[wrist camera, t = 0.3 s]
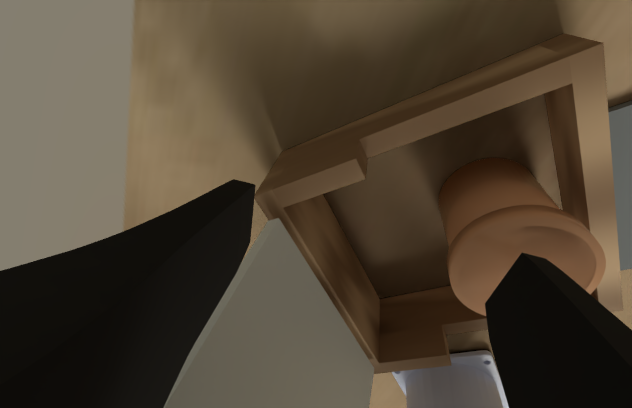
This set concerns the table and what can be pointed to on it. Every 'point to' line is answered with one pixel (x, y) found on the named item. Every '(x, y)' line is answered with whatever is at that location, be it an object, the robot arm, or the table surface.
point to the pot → (509, 230)
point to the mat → (622, 177)
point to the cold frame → (422, 121)
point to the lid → (274, 340)
